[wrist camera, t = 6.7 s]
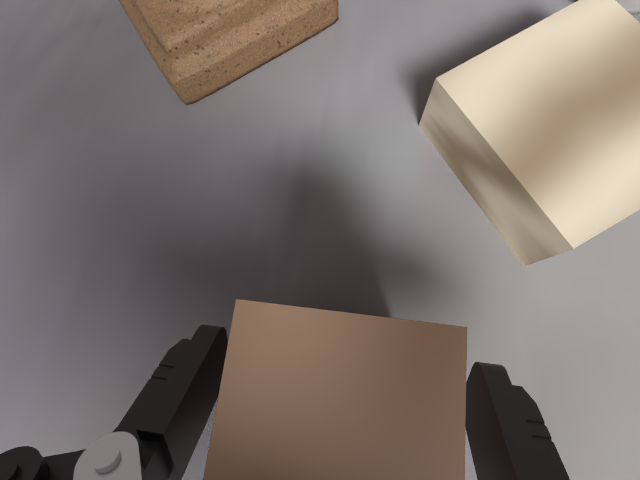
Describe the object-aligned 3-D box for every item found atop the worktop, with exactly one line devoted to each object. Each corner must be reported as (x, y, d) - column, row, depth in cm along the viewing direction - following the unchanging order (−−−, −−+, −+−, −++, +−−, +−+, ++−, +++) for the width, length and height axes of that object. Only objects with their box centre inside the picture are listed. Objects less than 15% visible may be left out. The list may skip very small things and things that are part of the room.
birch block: (417, 129, 19) (435, 78, 15) (551, 55, 20) (601, -13, 16) (520, 267, 17) (573, 248, 13) (669, 179, 17) (762, 135, 13)
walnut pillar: (286, 418, 15) (187, 566, 6) (300, 316, 16) (236, 299, 7) (386, 433, 15) (461, 623, 5) (394, 328, 16) (467, 327, 6)
